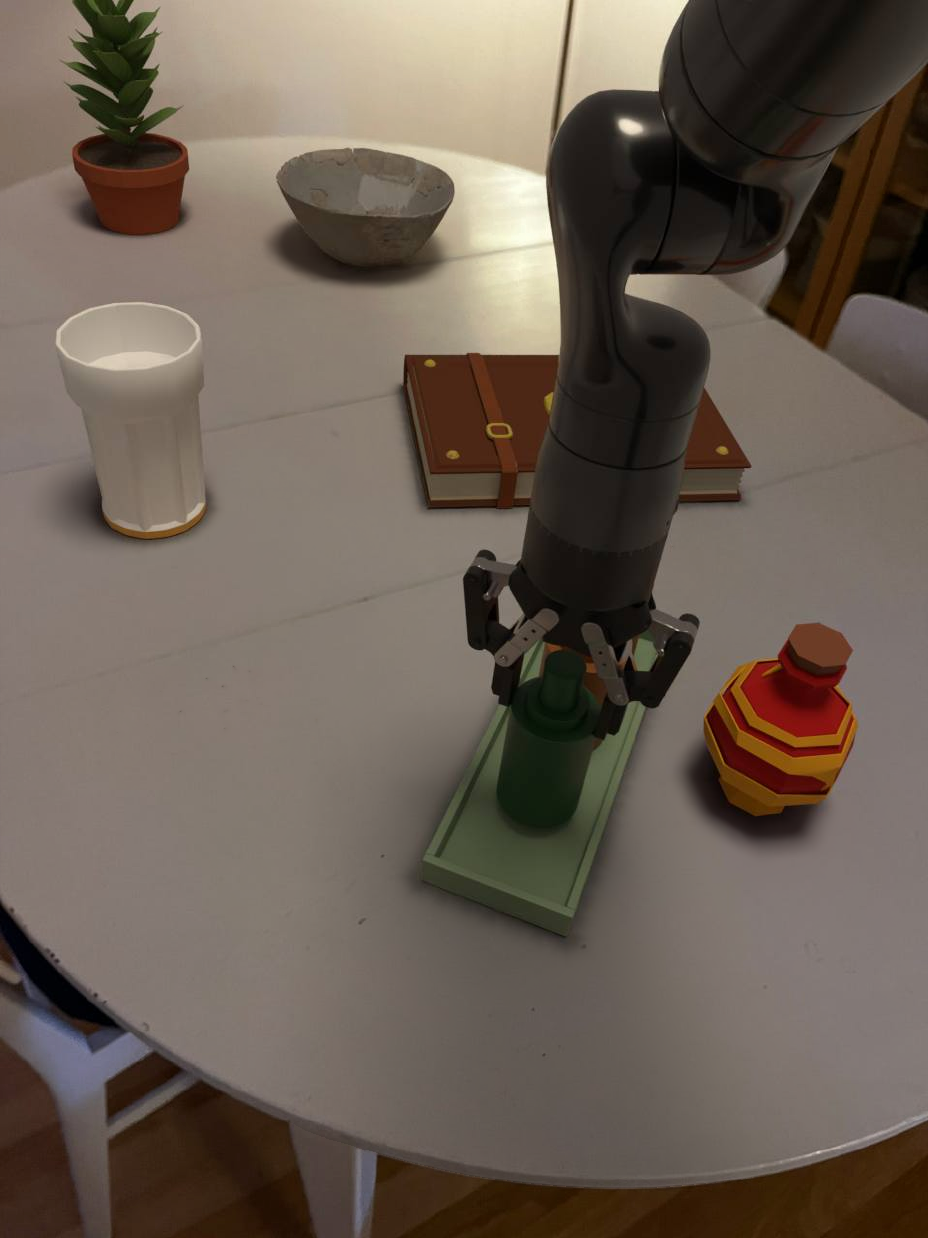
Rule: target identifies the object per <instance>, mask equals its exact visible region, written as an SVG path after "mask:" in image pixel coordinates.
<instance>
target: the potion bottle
mask: <svg viewBox="0 0 928 1238" xmlns="http://www.w3.org/2000/svg"><path fill="white" fill-rule="evenodd" d="M853 651H854V649H853V648H852V646H851V645H850V643H849V642H848V640H847V639H846V637H845V635H844V634H843V633H842V632H841V631H838V630H836V629H834V628H831V627H829V626H827V625H824V624H823V623H821V622H808V623H799V624H798V623H797V624H795V626H794V627H793V629H792V631H791V632H790V634H789V635H788V637H787V640H786V641H785V643H784V644H783V646H782V648H781V649H780V651H779V652H778V654H777V657H773V658H763V659H755V660H753V661H749V662H747V663H744V664H741V665H738V666H737V667H736V668H735V669H734V671H733V673H732V674H731V676H730V677H729V678H728V680H727V681H726V683H725V684H724V685H723V686H722V688H721V689H720V691H718V693H717V695H716V696H715V697H714V699H713V700H712V703H711V705H710V706H709V708H708V709H707V711H706V712H705V714H704V715H703V725H702V727H703V728H702V729H703V730H702V732H703V736H704V739H705V742H706V746H707V749H708V751H709V753H710V755H711V757H712V760H713V762H714V764H715V766H716V768H717V770H718V772H719V775H720V777H719V778H718V782H719V784H720V786H721V788H722V790H723V792H724V794H725V797H726V798H727V801H728V803H730V804H731V805H733V806H736V807H737V808H739V809H741V810H743V811H745V812H747V813H749V814H750V815H752V816H754V817H760V816H767V815H775V814H781V813H782V812H783V810H784V809H785V807H786V806H800V805H801V806H802V805H815V804H816V805H817V804H819V803H821V802H823V800H825V799H827V798H828V797H829V795H830V793H831V792H832V789H833V787H834V785H835V784H836V781H837V779H838V777H839V776H840V774H841V771H842V770H843V768H844V765H845V764H846V761H847V760H848V758H849V756H850V754H851V751H852V749H853V747H854V744H855V739H856V735H857V731H858V729H859V723H858V720H857V718H856V716H855V714H854V712H853V704H852V702H851V701H850V700H849V698H847V697H846V696H845V695H844V693H843V692H842V691H841V689H840V687H839V686H838V685H839V684H840V682H841V681H842V680H843V677H844V675H845V673H846V671H847V669H848V666H847V663H848V661H849V659H850V658H851V656H852V654H853Z"/></svg>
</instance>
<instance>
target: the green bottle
mask: <svg viewBox="0 0 928 1238" xmlns="http://www.w3.org/2000/svg"><path fill="white" fill-rule="evenodd" d="M586 670H587V666H586V662H585V660H584V659H583V658H582V657H581V656H580V655H579V654H577V653H575V652H573V651H569V650H556V651H553V652H551V653H550V654H549V655H548V656H547V657H546V658H545V662H544V667H543V672H542V676H540V677H535V678H532V679H530V680H528V681H526V682H524V683H523V684H522V685H520V686H519V687H518V689H517V690H516V691H515V693H514V695H513V697H512V700H511V706H510V712H509V718H508V723H507V729H506V735H505V741H504V747H503V753H502V759H501V764H500V770H499V776H498V782H497V791H496V792H497V798H498V801H499V803H500V805H501V807H502V808H503V810H504V811H505V812H506V813H507V814H508V815H509V816H510V817H511V818H513V819H514V820H516V821H517V822H519V823H521V824H524V825H526V826H530V827H535V828H550V827H554V826H558V825H560V824H562V823H564V822H566V821H567V820H568V819H570V818H571V817H572V816H573V814H574V813H575V811H576V809H577V807H578V804H579V800H580V796H581V792H582V789H583V785H584V781H585V777H586V773H587V770H588V766H589V762H590V758H591V755H592V751H593V747H594V743H595V739H596V738H595V737H594V734H595V730H596V726H597V723H598V719H599V715H600V711H601V709H600V705H599V703H598V701H597V699H596V697H595V696H594V695H593V694H592V693H591V692H590V691H589V690H588V689H587V688H586V687H585V686H583V682H584V678H585V674H586Z"/></svg>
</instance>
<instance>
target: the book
mask: <svg viewBox="0 0 928 1238" xmlns="http://www.w3.org/2000/svg"><path fill="white" fill-rule="evenodd" d="M558 360H559V354H481V353H480V352H466V354H404V357H403V376H402V377H403V378H402V384H403V391H404V396H405V401H406V407H407V411H408V415H409V421H410V426H411V430H412V435H413V441H414V445H415V450H416V455H417V459H418V464H419V470H420V473H421V478H422V484H423V489H424V493H425V499H426V503H427V508H452V507H453V508H455V507H456V508H457V507H461V508H462V507H495V506H496V508H497V509H512V508H514V506H530V500H531V494H532V488H533V482H534V475H535V469H536V463H537V458H538V454H539V450H540V447H541V444H542V440H543V438H544V435H545V432H546V429H547V425H548V420H549V416H550V410H551V404H552V398H553V392H554V386H555V380H556V375H557V367H558ZM752 467H753V466H752V464H751V463H750V461H749V459H748V458H747V456H746V454H745V452H744V450H743V449H742V448H741V446H740V444H739V442H738V441H737V438H736V437H735V436H734V434H733V432H732V431H731V429H730V427H729V426H728V424H727V423H726V420H724V418H723V416H722V414H721V413H720V410H719V409H718V407H717V406H716V404H715V403H714V401H713V399H712V398H711V395H710V394H709V393H708V391H707V390H706V388H705V387H704V389H703V393H702V397H701V401H700V404H699V408H698V411H697V415H696V418H695V422H694V425H693V429H692V433H691V436H690V440H689V443H688V446H687V451H686V457H685V466H684V474H683V481H682V485H681V490H680V494H679V502H701V501H704V502H706V501H741V500H742V499H741V498H742V494H741V493H740V491H739V489H740V483H741V482H742V480H741V478H742V477H744V475H743V473H745V472H746V469H751V468H752Z"/></svg>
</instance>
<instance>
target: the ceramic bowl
mask: <svg viewBox="0 0 928 1238" xmlns="http://www.w3.org/2000/svg"><path fill="white" fill-rule="evenodd" d="M275 177H276V178H275V179H276V183H277V185H278V188H279V189H280V192H281V195H282V197H283V198H284V200H285V202H286V204H287V205H288V207H289V209H290V210H291V213H292V214H293V215H294V217H295V218H296V220H297V222H298V224H299V225H300V226H301V227H302V229H303V230H304V231H305V233H306V235H308V236H309V238H310V239H311V241H313V242H314V243H315V244H316V245H317V246H318V247H319V248H320V249H321V251H322V252H324V253H325V254H326V255H328V256H329V257H331V258H333V259H334V260H336V261H339V262H340V263H343V264H346V265H348V266H353V267H354V266H355V267H365V268H366V267H367V268H386V267H387V268H388V267H389V268H390V267H397V266H399V265H402V264H404V263H406V262H408V261H409V260H410V259H412V257H414V256H415V255H416V254H418V253H419V252H420V251H421V250H422V249H423V247H424V246H425V245H426V244H427V243H428V241H429V240H430V239H431V237H432V236H433V235H434V233H435V232H436V230H437V228H438V227H439V225H440V224H441V223H442V221H443V219H444V217H445V215H446V213H447V212H448V210H449V208H450V207H451V204H452V203H453V202H454V198H455V193H456V190H455V183H454V181H453V179H452V178H451V176H450V175H449V174H448V173H447V172H446V171H444V170H443V169H441V168H440V167H438V166H436V165H433V164H432V163H429V162H425V161H424V160H420V159H416V158H415V157H412V156H408V155H404V154H400V153H394V152H391V151H390V152H389V151H387V152H386V151H383V150H378V149H373V148H368V147H367V148H366V147H353V148H350V147H344V148H330V149H329V148H328V149H318V150H313V151H309V152H305V153H303V154H299V156H294V157H291V158H289V159H288V161H285V162H284V163H283V165H281V166H280V169H278V171H277V173H276V176H275Z"/></svg>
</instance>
